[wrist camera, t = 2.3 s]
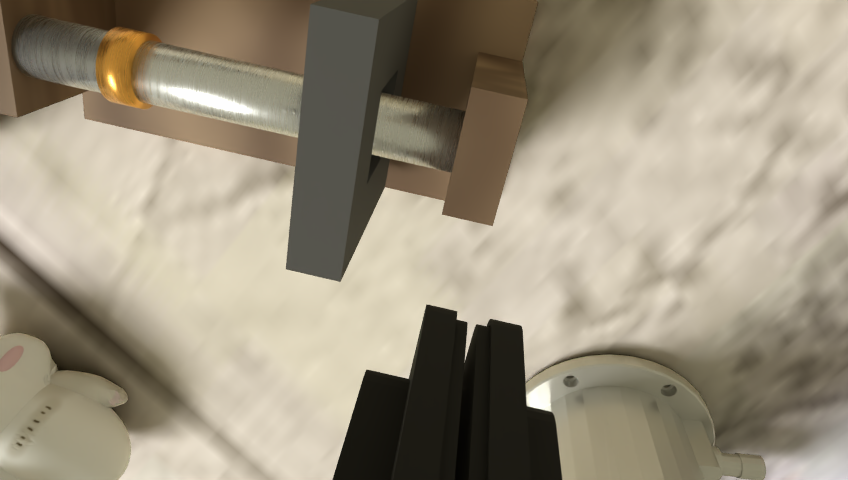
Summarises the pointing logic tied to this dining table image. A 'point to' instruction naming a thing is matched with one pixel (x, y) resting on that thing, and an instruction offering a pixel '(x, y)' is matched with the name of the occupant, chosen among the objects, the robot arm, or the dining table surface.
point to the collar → (343, 127)
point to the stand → (286, 50)
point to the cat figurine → (57, 418)
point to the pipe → (214, 86)
